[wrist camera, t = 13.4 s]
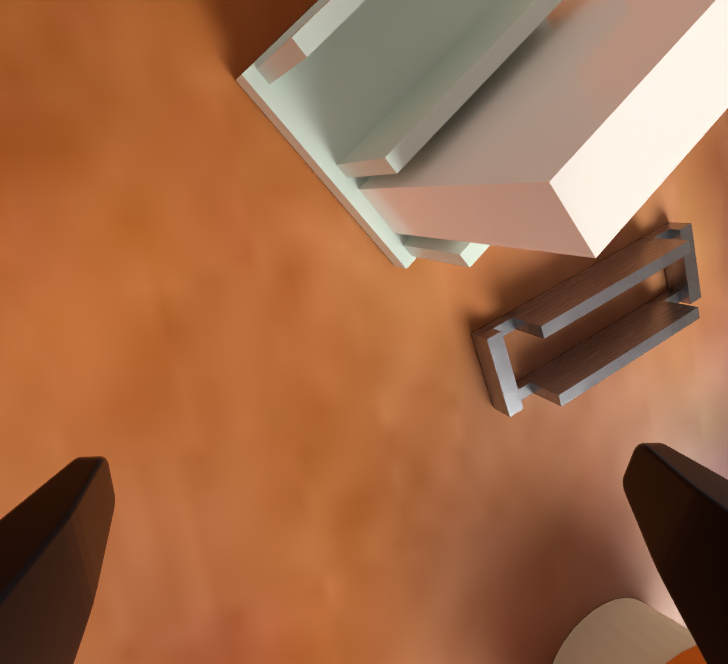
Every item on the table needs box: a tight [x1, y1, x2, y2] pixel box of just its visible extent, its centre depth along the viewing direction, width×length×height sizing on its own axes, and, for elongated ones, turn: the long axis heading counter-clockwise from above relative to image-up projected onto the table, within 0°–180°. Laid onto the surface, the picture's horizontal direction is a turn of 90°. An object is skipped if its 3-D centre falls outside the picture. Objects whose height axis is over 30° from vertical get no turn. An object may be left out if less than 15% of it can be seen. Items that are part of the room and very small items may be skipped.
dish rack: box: [236, 0, 562, 269], centre depth 19 cm, size 11×9×5 cm
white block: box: [359, 0, 728, 258], centre depth 17 cm, size 10×2×10 cm, turn 134°
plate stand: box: [471, 222, 701, 417], centre depth 26 cm, size 13×4×2 cm, turn 113°
